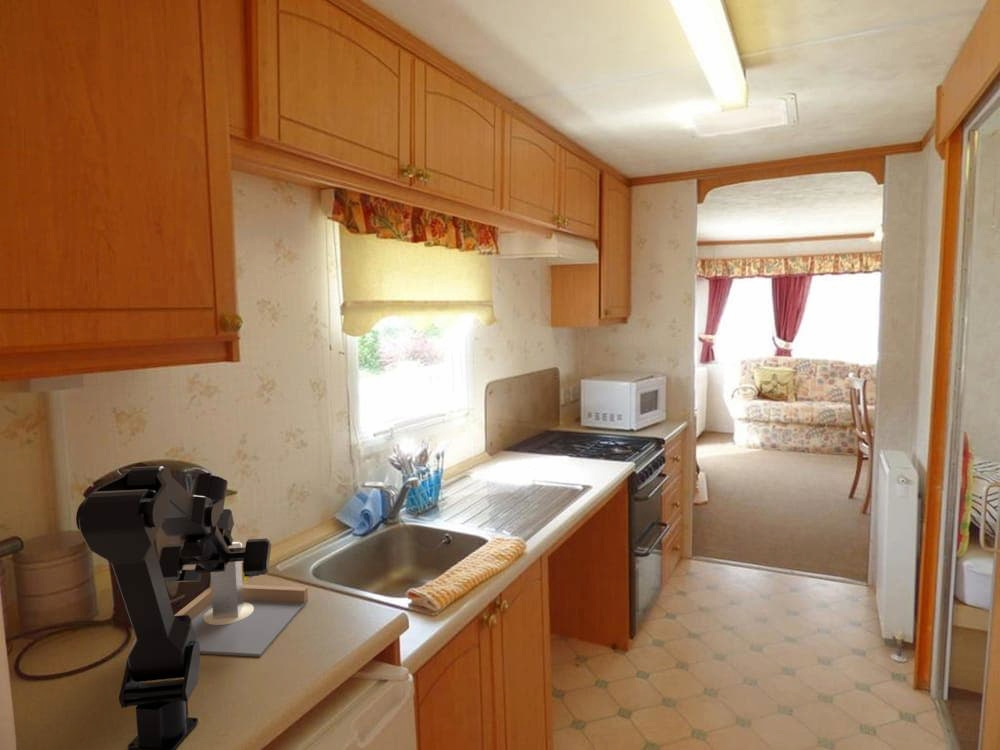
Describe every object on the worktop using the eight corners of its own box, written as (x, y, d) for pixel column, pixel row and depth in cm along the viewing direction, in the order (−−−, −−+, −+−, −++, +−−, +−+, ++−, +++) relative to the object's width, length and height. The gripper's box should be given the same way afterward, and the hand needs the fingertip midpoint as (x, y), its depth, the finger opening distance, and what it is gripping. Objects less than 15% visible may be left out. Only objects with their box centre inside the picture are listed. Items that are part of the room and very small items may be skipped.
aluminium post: (238, 617, 117) (234, 552, 116) (213, 619, 116) (209, 553, 115) (243, 606, 121) (240, 543, 120) (219, 607, 121) (216, 544, 119)
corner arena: (260, 656, 105) (259, 640, 104) (151, 650, 107) (150, 634, 106) (307, 601, 125) (307, 587, 124) (215, 597, 126) (214, 583, 126)
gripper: (266, 497, 112) (280, 534, 124) (157, 503, 109) (182, 540, 121) (259, 555, 105) (274, 588, 117) (141, 563, 102) (169, 596, 114)
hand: (225, 576), depth 117 cm, fingers open, 9 cm apart
